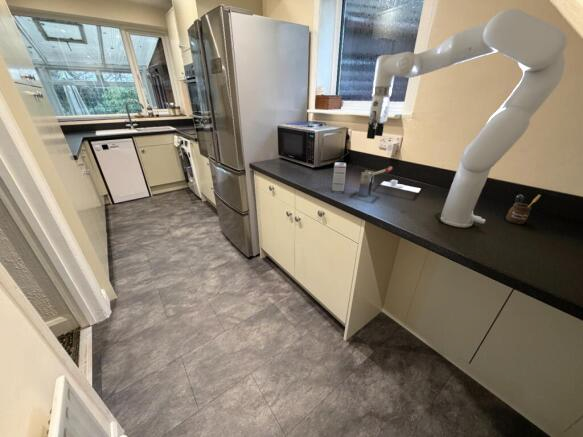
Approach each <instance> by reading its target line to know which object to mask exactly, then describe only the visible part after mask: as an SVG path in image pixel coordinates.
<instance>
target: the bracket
mask: <svg viewBox="0 0 583 437" xmlns="http://www.w3.org/2000/svg"><path fill="white" fill-rule="evenodd" d="M369 172H371V173H374V172H375V171H373V170H368V169H365V170H364V171H362V172H361V175H360V183H359V188H358V194H357V195H358V196H359V197H363V198H368V196H371V195H372V190H373V185H374V178H375V175H373V176H372V177H371V175H372V174H371V173H369Z"/></svg>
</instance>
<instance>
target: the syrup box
mask: <svg viewBox="0 0 583 437" xmlns="http://www.w3.org/2000/svg"><path fill="white" fill-rule="evenodd" d="M346 169H347V162H339V161H338V162H334V165H333V178H332V191H333V192H334V191H335V192H344V190H345V182H346V172H347V170H346Z"/></svg>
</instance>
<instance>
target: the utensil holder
mask: <svg viewBox="0 0 583 437" xmlns="http://www.w3.org/2000/svg"><path fill="white" fill-rule="evenodd" d="M520 196H521V194H518V196H516V198H515V203H513V205H512V206H511V207H510V208H509V209H508V212H507V214H506V216H505V220H507V221H508V222H510V223H513V224H518V225H522V224H525V223H526V221H527V219H528V218H529V215H530V211H531V210H532V205H533V204H534V203H536V202H537V201H538V200H539V199H540V197H541V196H542V195H541V194H538V195H537V196H535V198H533V200H532V201H531V203H530V204H526V203H523V202H519V198H520ZM524 199H525V196H522V198H520V201H524Z"/></svg>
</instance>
